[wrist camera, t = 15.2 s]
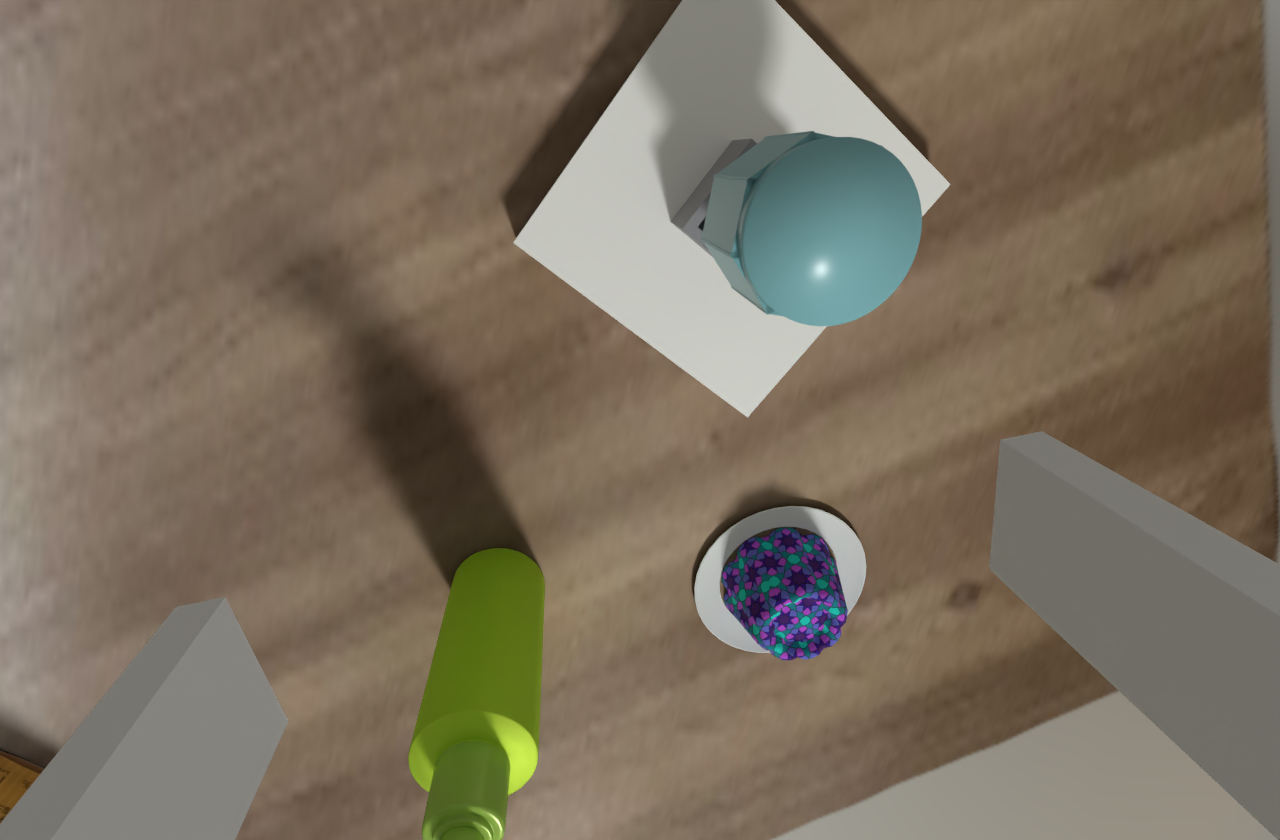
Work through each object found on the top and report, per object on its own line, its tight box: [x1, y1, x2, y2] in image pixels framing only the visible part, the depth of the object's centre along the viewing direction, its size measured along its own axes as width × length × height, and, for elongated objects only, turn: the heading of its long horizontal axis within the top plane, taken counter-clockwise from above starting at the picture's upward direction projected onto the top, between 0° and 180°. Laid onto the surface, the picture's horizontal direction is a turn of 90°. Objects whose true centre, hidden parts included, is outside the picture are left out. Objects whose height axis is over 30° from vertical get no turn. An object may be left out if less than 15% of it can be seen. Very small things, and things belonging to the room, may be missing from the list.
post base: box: [513, 0, 950, 417], centre depth 32 cm, size 16×16×6 cm
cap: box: [701, 131, 922, 326], centre depth 24 cm, size 6×6×6 cm
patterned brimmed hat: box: [694, 506, 866, 660], centre depth 42 cm, size 12×12×5 cm
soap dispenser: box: [408, 548, 545, 840], centre depth 32 cm, size 6×7×20 cm
